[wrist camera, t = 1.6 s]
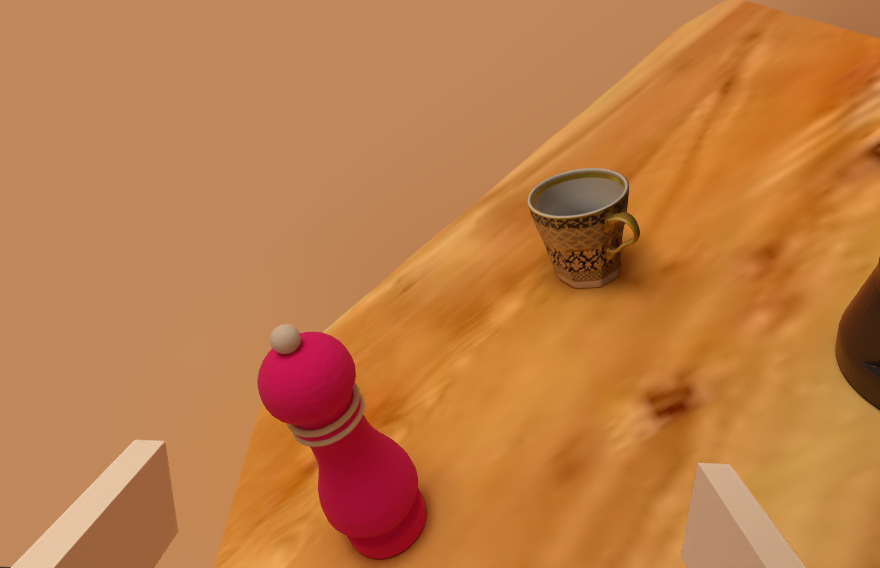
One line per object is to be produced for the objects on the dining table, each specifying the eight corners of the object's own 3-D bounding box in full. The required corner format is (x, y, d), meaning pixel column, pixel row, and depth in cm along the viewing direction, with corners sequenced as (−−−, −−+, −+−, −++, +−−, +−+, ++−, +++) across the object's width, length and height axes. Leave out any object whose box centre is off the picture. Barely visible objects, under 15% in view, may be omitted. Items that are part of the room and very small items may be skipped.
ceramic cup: (526, 275, 66) (508, 199, 60) (592, 236, 68) (581, 159, 63) (606, 325, 55) (594, 238, 50) (680, 276, 58) (676, 189, 53)
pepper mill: (428, 470, 47) (339, 277, 36) (438, 551, 41) (335, 349, 30) (345, 494, 48) (232, 310, 37) (343, 578, 42) (208, 387, 31)
